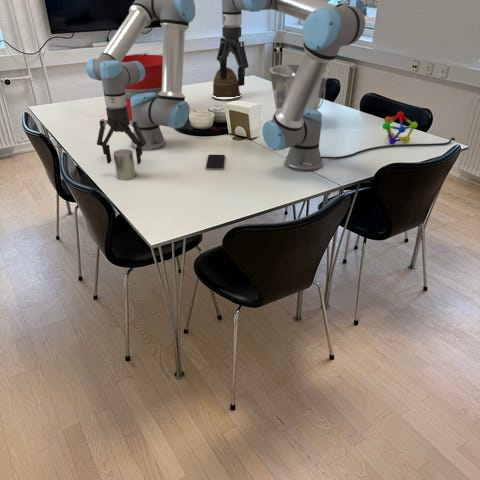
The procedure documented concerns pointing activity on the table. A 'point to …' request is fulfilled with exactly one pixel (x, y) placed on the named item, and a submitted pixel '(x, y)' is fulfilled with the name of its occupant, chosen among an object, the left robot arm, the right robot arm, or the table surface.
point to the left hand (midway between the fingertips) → (124, 162)
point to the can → (124, 164)
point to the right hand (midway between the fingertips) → (232, 82)
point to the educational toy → (398, 128)
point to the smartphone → (215, 162)
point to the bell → (226, 85)
